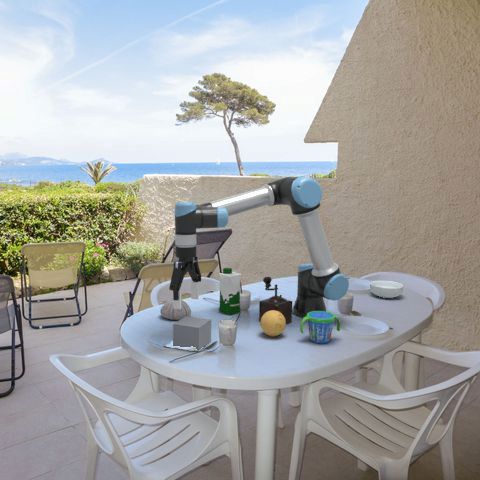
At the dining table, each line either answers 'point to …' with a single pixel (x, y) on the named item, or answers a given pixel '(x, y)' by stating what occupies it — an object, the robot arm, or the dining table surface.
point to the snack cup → (320, 325)
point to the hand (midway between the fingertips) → (186, 303)
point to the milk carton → (229, 292)
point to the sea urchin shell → (175, 310)
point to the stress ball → (273, 323)
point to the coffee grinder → (275, 303)
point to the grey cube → (192, 332)
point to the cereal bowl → (386, 288)
